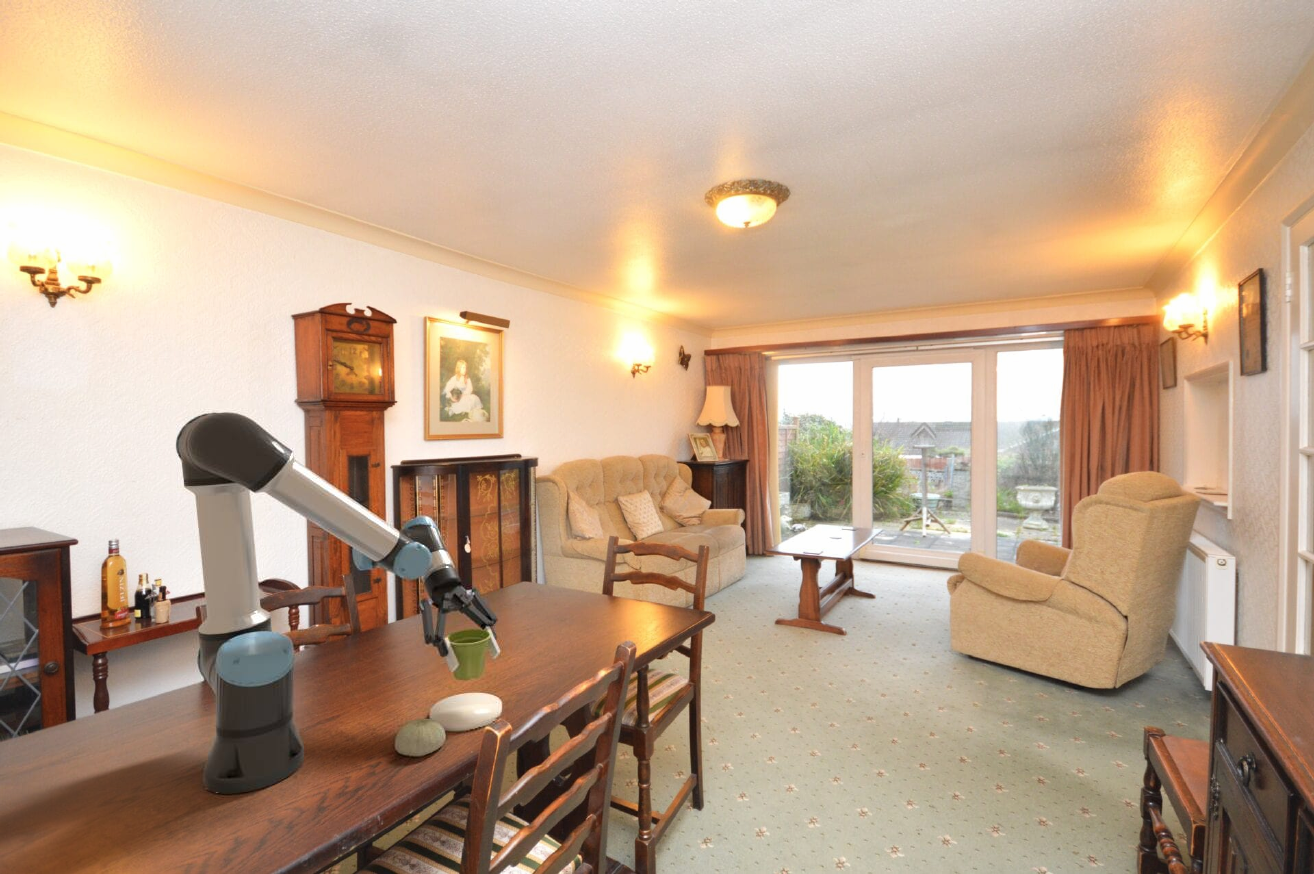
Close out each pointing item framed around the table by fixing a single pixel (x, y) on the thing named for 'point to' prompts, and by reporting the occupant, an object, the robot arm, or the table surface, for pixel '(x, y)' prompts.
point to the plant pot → (469, 652)
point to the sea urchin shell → (420, 737)
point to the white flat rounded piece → (466, 711)
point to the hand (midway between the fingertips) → (476, 661)
